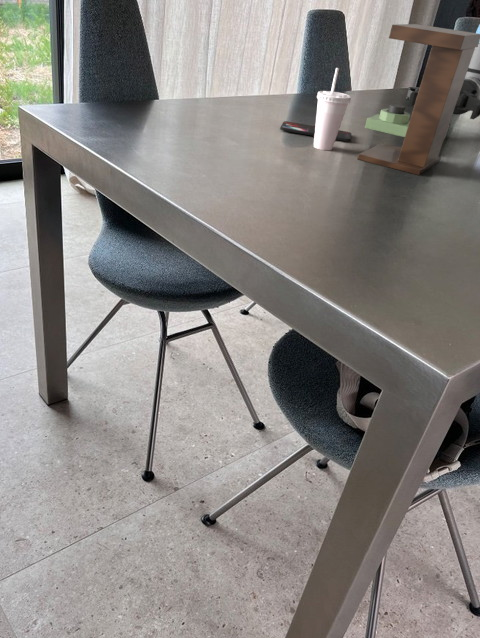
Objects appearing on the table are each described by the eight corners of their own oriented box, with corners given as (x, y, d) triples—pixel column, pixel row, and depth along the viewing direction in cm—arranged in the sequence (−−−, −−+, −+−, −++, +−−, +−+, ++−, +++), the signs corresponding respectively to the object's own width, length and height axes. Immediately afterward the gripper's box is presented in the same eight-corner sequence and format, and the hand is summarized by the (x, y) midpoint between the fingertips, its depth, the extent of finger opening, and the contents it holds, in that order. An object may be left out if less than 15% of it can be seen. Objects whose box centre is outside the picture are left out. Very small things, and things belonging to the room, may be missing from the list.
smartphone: (351, 139, 117) (279, 127, 119) (350, 142, 118) (279, 130, 119) (351, 132, 123) (283, 120, 125) (350, 135, 123) (283, 123, 125)
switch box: (416, 132, 133) (421, 114, 131) (406, 137, 128) (412, 118, 125) (375, 123, 137) (380, 105, 135) (364, 128, 132) (369, 109, 129)
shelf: (438, 161, 113) (482, 34, 100) (419, 175, 103) (464, 35, 90) (380, 147, 117) (415, 24, 104) (357, 159, 107) (392, 24, 95)
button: (405, 114, 131) (407, 106, 130) (400, 116, 128) (402, 108, 127) (390, 111, 132) (392, 103, 131) (385, 113, 130) (387, 104, 129)
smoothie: (315, 141, 116) (331, 64, 107) (344, 149, 113) (363, 70, 105) (301, 146, 111) (317, 66, 103) (330, 154, 108) (349, 72, 100)
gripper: (510, 123, 135) (494, 136, 120) (408, 102, 145) (382, 112, 130) (524, 89, 130) (509, 98, 115) (418, 69, 140) (391, 75, 125)
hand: (442, 105), depth 122 cm, fingers open, 13 cm apart
